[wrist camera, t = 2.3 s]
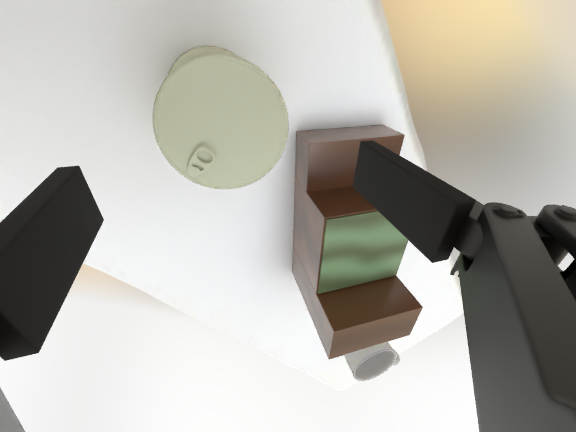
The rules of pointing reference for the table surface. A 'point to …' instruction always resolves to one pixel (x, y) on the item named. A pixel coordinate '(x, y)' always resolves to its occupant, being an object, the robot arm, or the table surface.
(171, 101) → the can
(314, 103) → the table surface
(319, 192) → the shelf riser
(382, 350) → the teacup
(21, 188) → the table surface
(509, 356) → the robot arm
